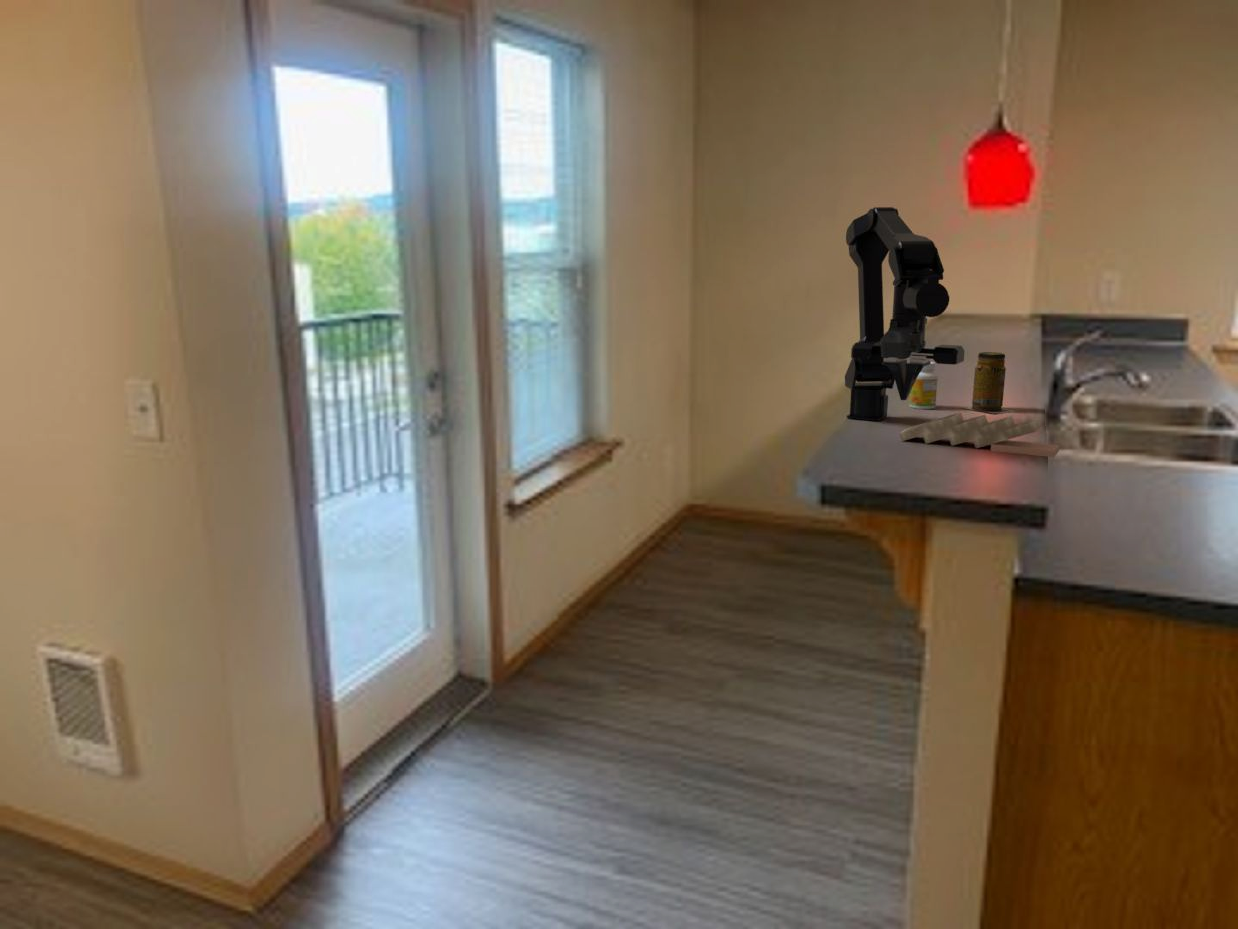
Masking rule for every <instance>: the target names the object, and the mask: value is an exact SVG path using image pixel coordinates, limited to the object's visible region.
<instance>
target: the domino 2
mask: <svg viewBox="0 0 1238 929" xmlns="http://www.w3.org/2000/svg"><path fill="white" fill-rule="evenodd" d="M963 420H964V421H962V422H961V423H959V424H958V425H956V426H953V427H949V428H946V429H942V430H939V431H935V432H932V433H929V434H925V435H922V437H923V440H924V443H925V444H930V443H934V442H936V441H939V440H940V441H941V440H943V439H944V440H945V439H947V438H948V439H949V437H951V436H955V435H958V434H962V433H965V432H968V431H972V430H975V429H979V428H982V427H983V426H985V425H986V424H987V423H989V422H988V418H987V415H986V414H981V415H978V416H975V417H971V418H968V419H963Z"/></svg>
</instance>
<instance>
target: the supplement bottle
mask: <svg viewBox="0 0 1238 929" xmlns="http://www.w3.org/2000/svg"><path fill="white" fill-rule="evenodd" d="M935 369H936V362H935V361H931V363H930V364H929V365H927V366H924V367H923V369H922V370H921V372H920V373H919V375H918V377H917V379H916V381H915V383H914V385H913V387H912V389H911V391H910V394H909V402H908V403H909V404H908V405H909V408H913V409H916V410H917V409H918V410H932V409H935V408H936V404H937V392H938V373H936V372H934V370H935Z"/></svg>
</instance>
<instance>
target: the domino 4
mask: <svg viewBox="0 0 1238 929" xmlns="http://www.w3.org/2000/svg"><path fill="white" fill-rule="evenodd" d="M1040 428H1041V425H1040V421H1039V418H1032V419H1029V420H1024V421H1023V422H1020V423H1015V425H1014V426H1013V427H1012V428H1011V429H1009V430H1005V431H1002V432H998V433H995V434H991V435H988V436H984V437H981V438H977V439H974V440H972V441H973V444H974V447H975V449H978V448H982V447H986V446H991V444H994V443H997V442H1001V441H1005V440H1011V439H1015V438H1019V437H1022V436H1025V435H1029V434H1033V433H1037V431H1038V430H1039V429H1040Z"/></svg>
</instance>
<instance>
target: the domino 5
mask: <svg viewBox="0 0 1238 929" xmlns="http://www.w3.org/2000/svg"><path fill="white" fill-rule="evenodd" d="M1059 450H1060V445H1059V444H1051V443H1050V444H1049V443H1040V442H1039V443H1038V442H1029V441H1019V440H1011V439H1008V440H1005V441H1001V442H997V443H994V444H990V452H992V451H993V452H1000V453H1001V452H1002V453H1008V454H1009V453H1010V454H1020V455H1029V456H1037V457H1039V456H1040V457H1049V458H1055V457H1056V456H1057V454H1058V453H1059Z"/></svg>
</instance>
